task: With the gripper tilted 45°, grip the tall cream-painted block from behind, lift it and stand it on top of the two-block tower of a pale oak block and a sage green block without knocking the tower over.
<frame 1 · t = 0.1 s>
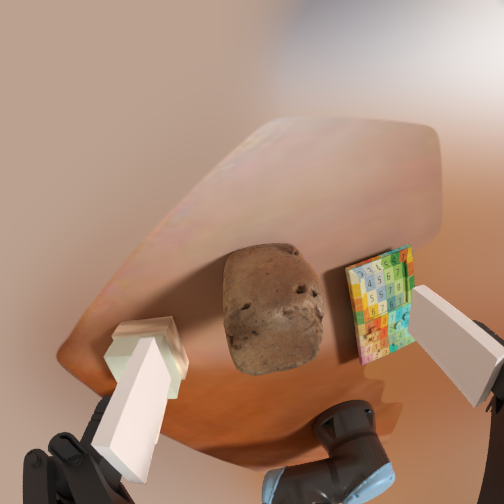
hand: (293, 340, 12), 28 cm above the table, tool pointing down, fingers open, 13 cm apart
tower top: (147, 359, 40), point 5 cm above the table, touching tower base
block: (264, 264, 41), on the table
tower base: (155, 342, 44), on the table, touching tower top
puzzle game: (377, 301, 45), on the table
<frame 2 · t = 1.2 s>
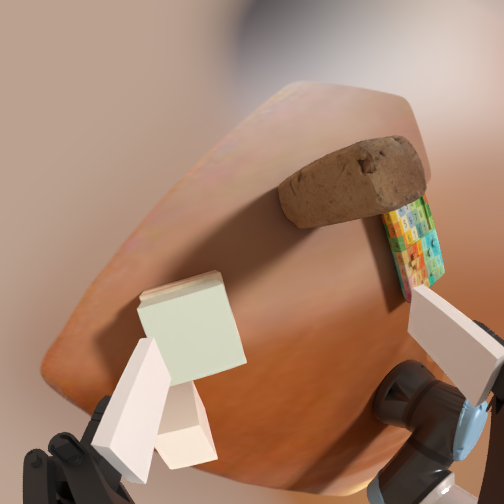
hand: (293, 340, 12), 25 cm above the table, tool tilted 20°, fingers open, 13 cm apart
cream block: (179, 398, 35), on the table
tower top: (190, 325, 31), point 5 cm above the table, touching tower base
block: (308, 199, 40), on the table
tower base: (190, 315, 36), on the table, touching tower top
puzzle game: (403, 239, 46), on the table
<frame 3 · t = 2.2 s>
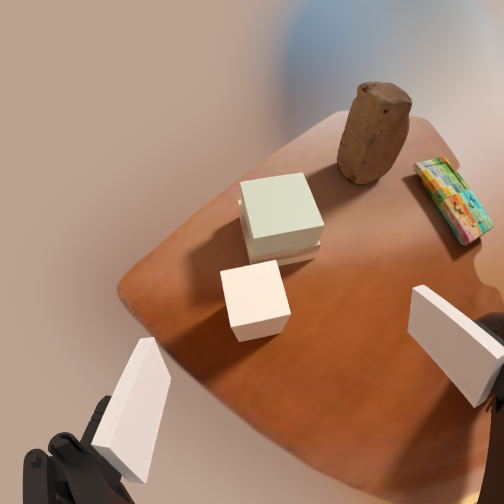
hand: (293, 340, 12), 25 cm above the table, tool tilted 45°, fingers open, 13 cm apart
cream block: (255, 317, 38), on the table
tower top: (278, 222, 39), point 5 cm above the table, touching tower base
block: (361, 171, 50), on the table
tower base: (275, 237, 44), on the table, touching tower top
puzzle game: (448, 205, 47), on the table
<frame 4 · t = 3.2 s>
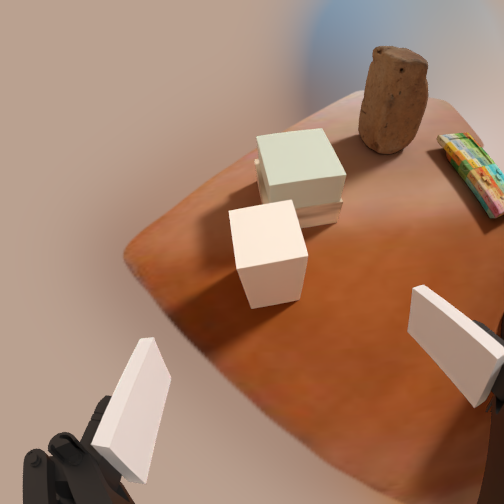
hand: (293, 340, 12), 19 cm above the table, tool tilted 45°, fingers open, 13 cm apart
cream block: (271, 282, 34), on the table
tower top: (297, 180, 36), point 5 cm above the table, touching tower base
block: (384, 143, 45), on the table
tower base: (295, 201, 40), on the table, touching tower top
puzzle game: (475, 180, 40), on the table
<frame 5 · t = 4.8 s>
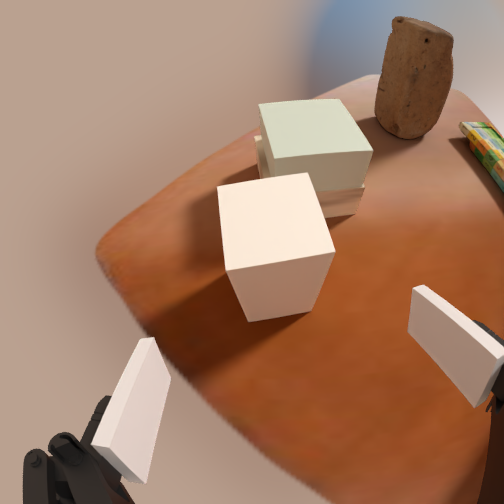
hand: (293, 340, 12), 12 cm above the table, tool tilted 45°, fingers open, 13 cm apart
cream block: (274, 287, 26), on the table
tower top: (309, 159, 28), point 5 cm above the table, touching tower base
block: (403, 127, 37), on the table
tower base: (303, 187, 32), on the table, touching tower top
puzzle game: (499, 173, 32), on the table
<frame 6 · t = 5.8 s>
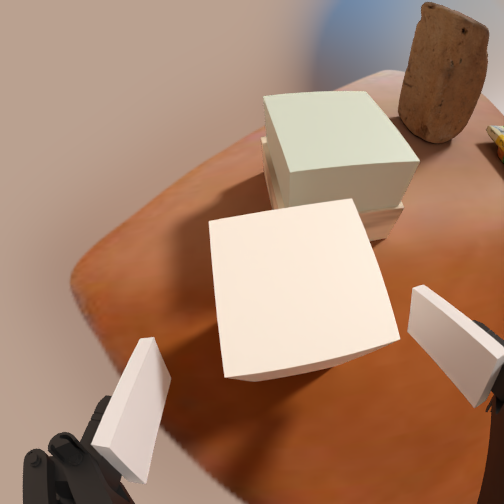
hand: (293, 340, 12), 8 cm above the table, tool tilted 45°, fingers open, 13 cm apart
cream block: (288, 337, 20), on the table
tower top: (329, 169, 21), point 5 cm above the table, touching tower base
block: (428, 129, 31), on the table
tower base: (322, 203, 26), on the table, touching tower top
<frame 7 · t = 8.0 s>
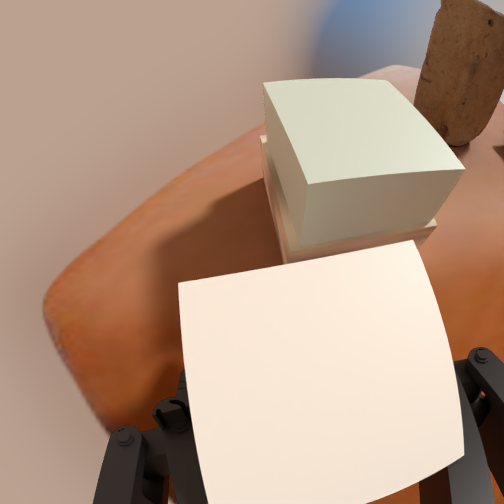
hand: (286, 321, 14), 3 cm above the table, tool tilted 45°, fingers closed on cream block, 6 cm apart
cream block: (294, 386, 15), on the table, touching gripper
tower top: (347, 175, 17), point 5 cm above the table
block: (445, 130, 26), on the table
tower base: (334, 216, 21), on the table
when the fingers open (15 cm above the table, at t = 13.8 s): cream block drops 2 cm, point 10 cm above the table.
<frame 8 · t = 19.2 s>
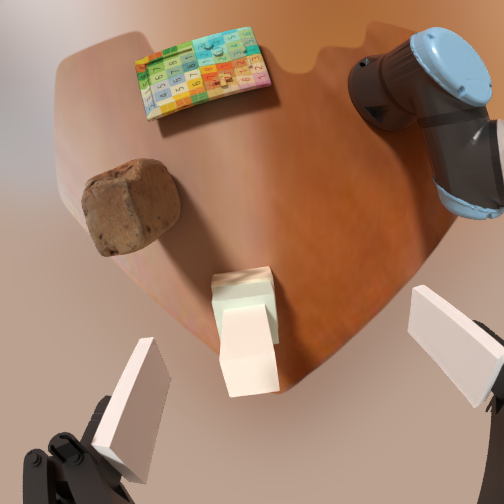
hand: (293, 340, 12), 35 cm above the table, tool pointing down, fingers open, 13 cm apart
cream block: (247, 324, 40), point 10 cm above the table
tower top: (245, 308, 45), point 5 cm above the table
block: (158, 193, 44), on the table
tower base: (245, 295, 50), on the table
puzzle game: (202, 76, 38), on the table
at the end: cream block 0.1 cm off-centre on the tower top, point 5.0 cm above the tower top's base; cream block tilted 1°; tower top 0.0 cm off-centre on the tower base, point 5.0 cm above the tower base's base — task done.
